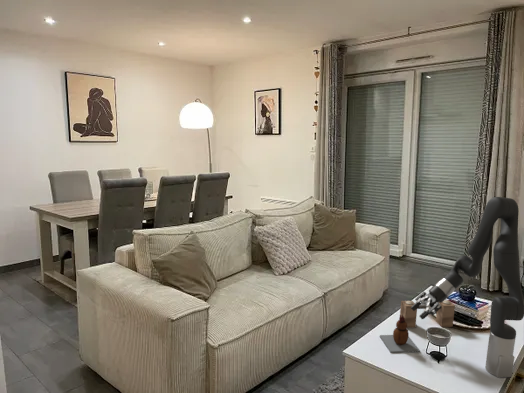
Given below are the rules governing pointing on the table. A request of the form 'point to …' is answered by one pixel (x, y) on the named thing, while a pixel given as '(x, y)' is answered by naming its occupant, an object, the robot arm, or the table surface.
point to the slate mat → (398, 348)
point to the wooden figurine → (401, 331)
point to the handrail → (442, 316)
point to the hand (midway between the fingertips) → (416, 313)
